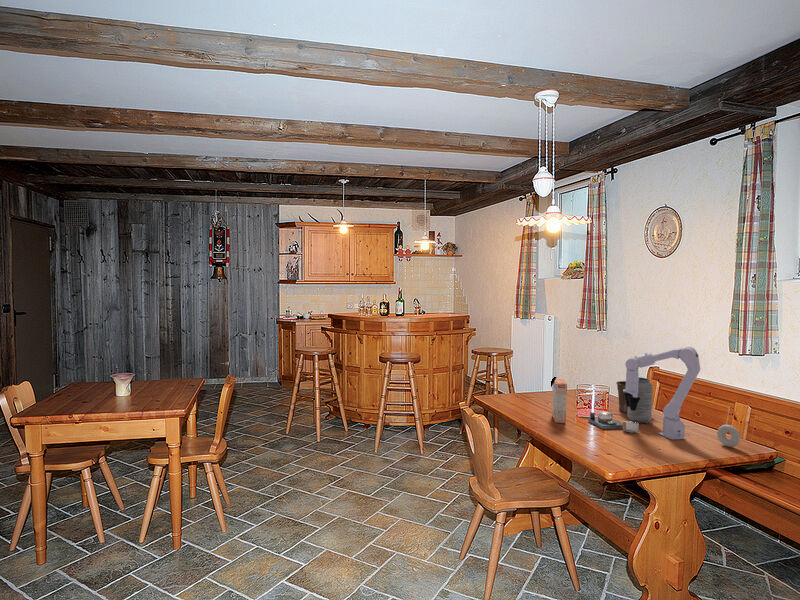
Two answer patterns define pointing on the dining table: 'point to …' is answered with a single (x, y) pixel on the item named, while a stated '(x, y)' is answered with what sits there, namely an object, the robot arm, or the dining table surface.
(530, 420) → the dining table surface
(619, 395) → the plant pot
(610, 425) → the levelling base
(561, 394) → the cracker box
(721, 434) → the donut
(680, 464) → the dining table surface
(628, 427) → the wing knob
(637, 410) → the vase
